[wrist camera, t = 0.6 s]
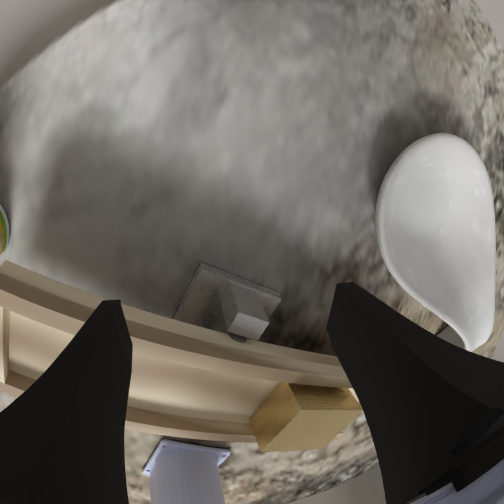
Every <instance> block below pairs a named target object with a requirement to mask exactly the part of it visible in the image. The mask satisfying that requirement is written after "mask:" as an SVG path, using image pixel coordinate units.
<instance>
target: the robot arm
mask: <svg viewBox="0 0 504 504" xmlns="http://www.w3.org/2000/svg"><path fill="white" fill-rule="evenodd" d="M327 331H328V334H329V337H330V340H331V343H332V346H333V348H334V351H335V353H336V355H337V358H338V360H339V362H340V364H341V366H342V368H343V370H344V372H345V374H346V376H347V378H348V380H349V382H350V383H351V385H352V387H353V389H354V391H355V393H356V395H357V397H358V400H359V402H360V404H361V406H362V409H363V411H364V414H365V417H366V420H367V423H368V426H369V429H370V432H371V435H372V439H373V442H374V445H375V449H376V452H377V457H378V461H379V465H380V469H381V474H382V479H383V485H384V491H385V498H386V504H410V503H412V502H414V501H416V500H418V499H420V498H422V497H424V496H425V495H427V496H426V497H424V498H422V499H420V500H418V501H417V502H415V503H412V504H504V363H503V362H499V361H496V360H493V359H490V358H486V357H483V356H481V355H478V354H475V353H472V352H470V351H468V350H465V349H463V348H460V347H458V346H456V345H454V344H451V343H449V342H447V341H445V340H444V339H442V338H440V337H438V336H436V335H434V334H432V333H430V332H428V331H427V330H425V329H423V328H422V327H420V326H418V325H417V324H415V323H414V322H412V321H410V320H409V319H407V318H406V317H404V316H403V315H401V314H400V313H398V312H397V311H395V310H394V309H392V308H391V307H389V306H388V305H386V304H385V303H383V302H382V301H381V300H379V299H378V298H376V297H375V296H373V295H372V294H370V293H369V292H367V291H366V290H364V289H363V288H361V287H360V286H358V285H356V284H355V283H353V282H348V283H339V284H337V285H336V290H335V294H334V298H333V303H332V307H331V311H330V315H329V319H328V324H327ZM132 352H133V344H132V341H131V337H130V334H129V331H128V327H127V324H126V320H125V317H124V313H123V309H122V305H121V302H120V300H103V301H102V302H101V303H100V304H99V305H98V307H97V308H96V309H95V310H94V312H93V313H92V314H91V316H90V317H89V318H88V319H87V321H86V322H85V323H84V325H83V326H82V327H81V329H80V330H79V331H78V332H77V334H76V335H75V336H74V337H73V339H72V340H71V341H70V343H69V344H68V345H67V346H66V347H65V349H64V350H63V351H62V352H61V353H60V355H59V356H58V357H57V358H56V359H55V361H54V362H53V363H52V364H51V365H50V366H49V367H48V369H47V370H46V371H45V372H44V373H43V374H42V375H41V376H40V377H39V378H38V379H37V380H36V381H35V382H34V383H33V384H32V385H31V386H30V387H29V388H28V389H27V390H26V391H25V392H24V393H22V394H21V395H20V396H19V397H18V398H17V399H16V400H15V401H13V402H12V403H11V404H10V405H9V406H8V407H7V408H5V409H4V410H3V411H2V412H0V504H129V502H128V494H127V486H126V474H125V458H124V429H125V419H126V411H127V403H128V396H129V388H130V381H131V374H132ZM229 455H230V450H227V449H220V448H212V447H206V446H199V445H193V444H187V443H182V442H177V441H172V440H167V439H163V440H161V442H160V443H159V445H158V446H157V448H156V450H155V451H154V453H153V455H152V456H151V458H150V459H149V461H148V463H147V464H146V466H145V467H144V469H143V471H142V473H143V474H144V475H148V476H150V495H151V504H225V502H224V497H223V491H222V486H221V481H220V475H219V470H218V466H219V465H220V464H221V463H222V462H223V461H224V460H225V459H226V458H227V457H228V456H229Z"/></svg>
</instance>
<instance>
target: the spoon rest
mask: <svg viewBox="0 0 504 504" xmlns="http://www.w3.org/2000/svg"><path fill="white" fill-rule="evenodd" d="M375 229H376V236H377V242H378V246H379V249H380V253H381V255H382V258H383V261H384V263H385V265H386V267H387V268H388V270H389V272H390V273H391V275H392V276H393V277H394V279H395V280H396V281H397V283H398V284H399V285H400V286H401V287H402V288H403V289H404V290H405V291H406V292H407V293H408V294H409V295H410V296H412V297H413V298H414V299H416V300H417V301H418V302H420V303H421V304H422V305H423V306H425V307H426V308H428V309H429V310H430V311H432V312H433V313H434V314H436V315H437V316H438V317H440V318H441V319H442V320H443V321H445V322H446V323H447V324H448V325H449V326H447V327H446V328H445V329H444V330H443V331H442V332H441V333H439V334H438V335H437V336H438V337H440V338H442V339H444V340H445V341H447V342H449V343H451V344H454V345H456V346H458V347H460V348H463V349H465V350H468V351H470V352H472V351H473V350H474V349H475V348H477V347H479V346H480V345H482V344H483V343H485V342H486V341H487V339H488V338H489V336H490V334H491V331H492V328H493V324H494V313H495V274H496V234H495V213H494V203H493V194H492V188H491V184H490V179H489V176H488V173H487V170H486V167H485V165H484V163H483V161H482V159H481V157H480V156H479V154H478V153H477V151H476V150H475V149H474V148H473V146H472V145H470V144H469V143H468V142H467V141H466V140H464V139H462V138H461V137H459V136H456V135H453V134H450V133H435V134H431V135H428V136H425V137H423V138H420V139H418V140H416V141H415V142H413V143H412V144H411V145H409V146H408V147H407V148H406V149H405V150H404V151H403V152H402V153H401V154H400V155H399V156H398V157H397V159H396V160H395V161H394V163H393V164H392V165H391V167H390V168H389V170H388V172H387V173H386V175H385V177H384V180H383V182H382V184H381V187H380V190H379V194H378V198H377V203H376V211H375Z"/></svg>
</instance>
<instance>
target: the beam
mask: <svg viewBox="0 0 504 504" xmlns="http://www.w3.org/2000/svg"><path fill="white" fill-rule="evenodd" d="M103 300H109V299H106V298H103V297H100V296H97V295H95V294H92V293H89V292H86V291H83V290H80V289H78V288H75V287H72V286H69V285H67V284H64V283H61V282H59V281H56V280H54V279H51V278H48V277H46V276H43V275H41V274H38V273H36V272H33V271H31V270H28V269H26V268H24V267H21V266H19V265H16V264H14V263H12V262H9V261H7V260H5V261H4V262H3V264H2V265H1V266H0V391H2V392H5V393H7V394H10V395H12V396H15V397H17V398H18V397H19V396H20V395H21V394H22V393H24V392H25V391H26V390H27V389H28V388H29V387H30V386H31V385H32V384H33V383H34V382H35V381H36V380H37V379H38V378H39V377H40V376H41V375H42V374H43V373H44V372H45V371H46V370H47V369H48V367H49V366H50V365H51V364H52V363H53V362H54V361H55V359H56V358H57V357H58V356H59V355H60V353H61V352H62V351H63V350H64V349H65V347H66V346H67V345H68V344H69V343H70V341H71V340H72V339H73V337H74V336H75V335H76V334H77V332H78V331H79V330H80V329H81V327H82V326H83V325H84V323H85V322H86V321H87V319H88V318H89V317H90V316H91V314H92V313H93V312H94V310H95V309H96V308H97V307H98V305H99V304H100V303H101V302H102V301H103ZM121 305H122V309H123V313H124V317H125V320H126V324H127V327H128V331H129V334H130V337H131V341H132V344H133V352H132V374H131V381H130V388H129V396H128V403H127V411H126V419H125V429H129V430H135V431H140V432H146V433H152V434H159V435H165V436H173V437H181V438H190V439H200V440H212V441H227V442H257V441H256V438H255V435H254V433H253V430H252V427H251V424H250V422H249V418H250V417H251V416H252V415H253V414H254V412H255V411H256V410H257V409H258V408H259V406H260V405H261V404H262V403H263V402H264V400H265V399H266V398H267V397H268V395H269V394H270V393H271V392H272V390H273V389H274V388H275V387H276V385H277V384H278V383H279V382H286V383H294V384H304V385H314V386H325V387H339V388H349V390H350V391H351V393H352V394H353V396H354V397H355V399H356V400H357V402H359V400H358V397H357V395H356V393H355V391H354V389H353V387H352V385H351V383H350V382H349V380H348V378H347V376H346V374H345V372H344V370H343V368H342V366H341V364H340V362H339V360H338V358H337V357H336V356H330V355H325V354H319V353H314V352H308V351H303V350H298V349H293V348H288V347H283V346H279V345H274V344H269V343H265V342H260V341H256V340H251V339H247V337H244V336H241V335H237V334H234V333H231V332H228V333H227V334H226V333H222V332H218V331H214V330H211V329H207V328H203V327H199V326H195V325H192V324H188V323H185V322H181V321H177V320H174V319H170V318H167V317H163V316H160V315H157V314H153V313H150V312H147V311H143V310H140V309H137V308H134V307H131V306H128V305H124V304H121ZM341 434H342V431H341V432H340V433H339V434H338V435H337V436H336V437H335V438H334V439H337V438H338V437H339V436H340V435H341ZM334 439H333V440H334Z"/></svg>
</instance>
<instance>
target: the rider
mask: <svg viewBox="0 0 504 504" xmlns="http://www.w3.org/2000/svg"><path fill="white" fill-rule="evenodd" d="M362 410H363V409H362V408H361V406H360V405H359V403H358V402H357V400H356V399H355V397H354V396H353V394H352V393H351V391H350V390H349V388H339V387H325V386H314V385H304V384H294V383H286V382H279V383H278V384H277V385H276V387H275V388H274V389H273V390H272V392H271V393H270V394H269V395H268V397H267V398H266V399H265V400H264V402H263V403H262V404H261V405H260V406H259V408H258V409H257V410H256V411H255V412H254V414H253V415H252V416H251V417H250V418H249V422H250V424H251V427H252V430H253V433H254V435H255V438H256V441H257V443H258V446H259V449H260V451H261V452H270V451H295V450H309V449H321V448H324V447H325V446H326V445H327V444H328V443H329V442H331V441H332V440H333V439H334V438H335V437H336V436H337V435H338V434H339V433H340V432H341V431H342V430H343V429H344V428H345V427H346V426H347V425H348V424H349V423H350V422H351V421H352V420H353V419H354V418H355V417H356V416H357V415H358V414H359V413H360V412H361V411H362Z"/></svg>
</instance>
